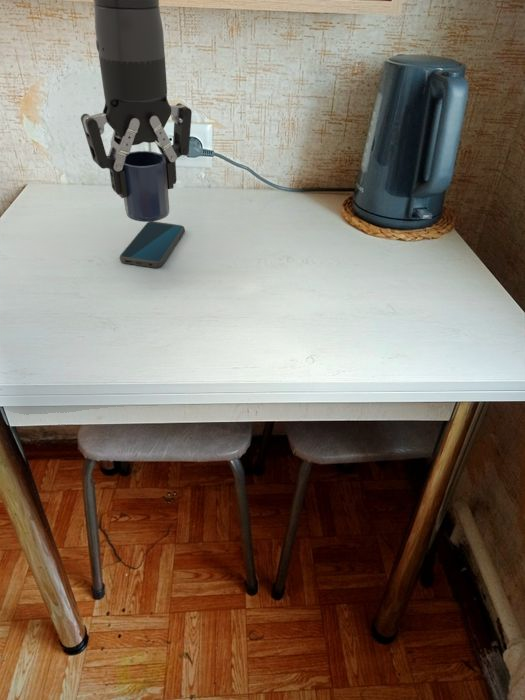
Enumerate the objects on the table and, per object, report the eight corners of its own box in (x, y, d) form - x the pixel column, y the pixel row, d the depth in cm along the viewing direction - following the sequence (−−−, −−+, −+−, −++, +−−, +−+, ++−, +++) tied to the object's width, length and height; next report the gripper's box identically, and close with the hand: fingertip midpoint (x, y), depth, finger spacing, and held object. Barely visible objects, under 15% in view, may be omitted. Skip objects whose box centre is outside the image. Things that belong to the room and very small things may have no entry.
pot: (136, 225, 68) (129, 170, 64) (119, 208, 72) (112, 154, 67) (176, 216, 71) (173, 162, 66) (158, 200, 75) (154, 148, 70)
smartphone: (117, 262, 87) (117, 257, 87) (148, 224, 99) (148, 220, 98) (160, 268, 86) (160, 263, 86) (186, 229, 98) (186, 225, 97)
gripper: (80, 62, 53) (104, 212, 64) (202, 54, 60) (205, 191, 71) (59, 49, 58) (84, 191, 69) (174, 42, 64) (181, 173, 75)
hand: (145, 190), depth 70 cm, fingers closed on pot, 6 cm apart
